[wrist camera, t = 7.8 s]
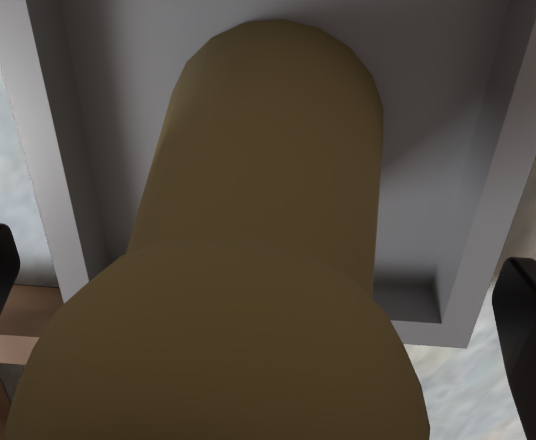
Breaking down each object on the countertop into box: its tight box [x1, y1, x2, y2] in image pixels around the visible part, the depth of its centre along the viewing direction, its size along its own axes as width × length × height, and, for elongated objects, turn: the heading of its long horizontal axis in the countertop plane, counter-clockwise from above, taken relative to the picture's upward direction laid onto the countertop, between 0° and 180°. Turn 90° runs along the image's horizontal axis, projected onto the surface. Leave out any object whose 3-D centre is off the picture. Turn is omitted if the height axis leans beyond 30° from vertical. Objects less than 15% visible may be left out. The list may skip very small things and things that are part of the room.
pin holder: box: [0, 285, 64, 440], centre depth 22 cm, size 11×11×2 cm
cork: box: [4, 19, 430, 440], centre depth 10 cm, size 6×6×11 cm
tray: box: [0, 0, 536, 348], centre depth 14 cm, size 13×13×2 cm
